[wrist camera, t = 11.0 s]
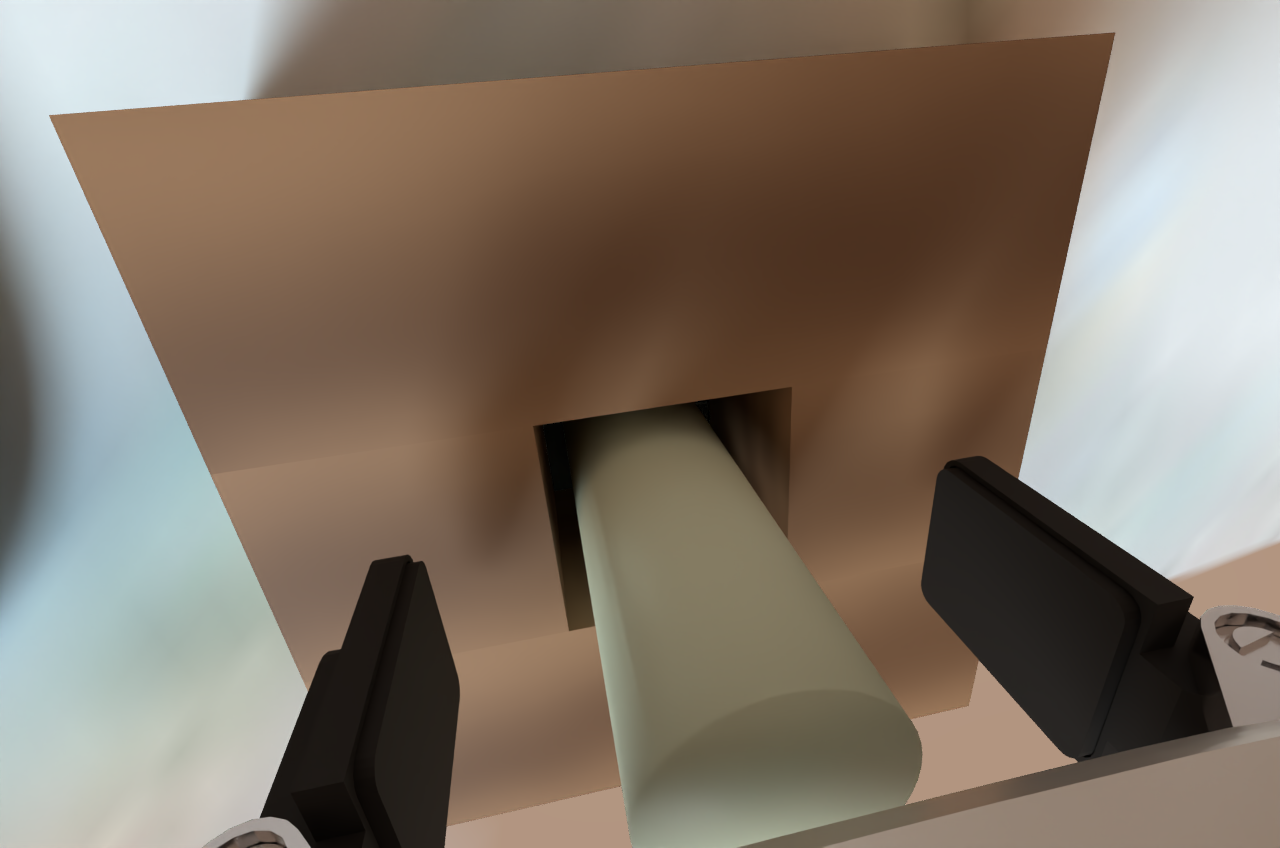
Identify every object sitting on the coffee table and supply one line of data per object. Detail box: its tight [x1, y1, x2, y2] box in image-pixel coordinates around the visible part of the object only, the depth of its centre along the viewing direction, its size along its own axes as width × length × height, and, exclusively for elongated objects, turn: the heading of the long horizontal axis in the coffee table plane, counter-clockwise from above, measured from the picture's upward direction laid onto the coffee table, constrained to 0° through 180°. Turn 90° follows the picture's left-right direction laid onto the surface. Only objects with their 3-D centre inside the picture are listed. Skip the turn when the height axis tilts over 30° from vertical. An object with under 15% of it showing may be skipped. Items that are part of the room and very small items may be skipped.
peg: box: [562, 402, 922, 848], centre depth 12 cm, size 4×4×12 cm
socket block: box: [49, 33, 1115, 826], centre depth 15 cm, size 16×16×6 cm
